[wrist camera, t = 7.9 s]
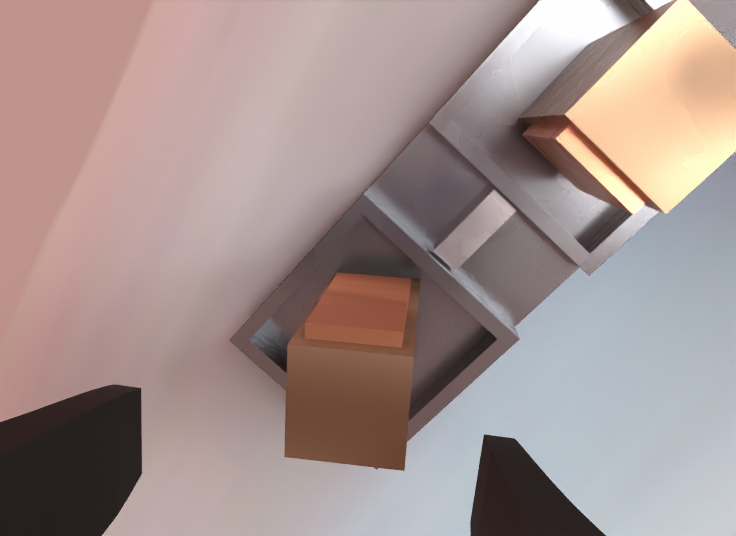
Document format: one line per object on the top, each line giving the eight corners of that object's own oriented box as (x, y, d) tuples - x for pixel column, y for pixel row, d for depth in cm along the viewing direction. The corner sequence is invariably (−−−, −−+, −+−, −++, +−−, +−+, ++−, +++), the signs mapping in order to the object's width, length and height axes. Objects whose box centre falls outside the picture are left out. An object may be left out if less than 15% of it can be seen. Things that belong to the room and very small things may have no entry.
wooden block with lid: (413, 359, 21) (404, 470, 14) (331, 351, 21) (284, 456, 15) (421, 268, 20) (414, 340, 13) (335, 261, 20) (287, 328, 14)
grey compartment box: (733, 107, 19) (947, 96, 11) (382, 435, 23) (355, 595, 15) (583, -47, 18) (695, -175, 11) (250, 318, 23) (151, 422, 15)
